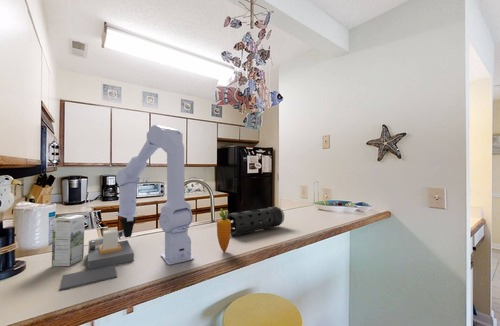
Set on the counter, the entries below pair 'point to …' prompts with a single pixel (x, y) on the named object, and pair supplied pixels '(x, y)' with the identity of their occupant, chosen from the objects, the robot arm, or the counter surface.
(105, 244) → the plug
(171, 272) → the counter surface
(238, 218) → the muzzle brake
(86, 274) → the mat
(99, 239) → the clip
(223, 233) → the carrot
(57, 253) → the syrup box
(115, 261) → the socket block
